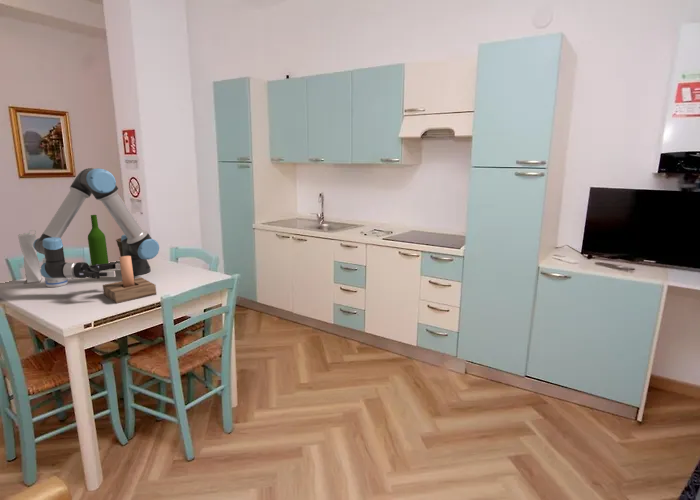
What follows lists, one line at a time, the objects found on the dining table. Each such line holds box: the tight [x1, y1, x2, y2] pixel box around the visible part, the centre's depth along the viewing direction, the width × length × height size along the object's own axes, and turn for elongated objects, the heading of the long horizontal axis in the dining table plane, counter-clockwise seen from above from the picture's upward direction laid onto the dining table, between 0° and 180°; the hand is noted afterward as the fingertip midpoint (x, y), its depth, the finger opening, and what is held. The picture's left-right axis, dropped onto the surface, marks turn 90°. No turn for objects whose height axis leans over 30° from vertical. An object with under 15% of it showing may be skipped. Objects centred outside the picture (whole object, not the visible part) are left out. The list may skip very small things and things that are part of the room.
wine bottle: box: [87, 214, 110, 266], centre depth 246 cm, size 9×9×32 cm
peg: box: [118, 256, 135, 288], centre depth 200 cm, size 5×5×18 cm
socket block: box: [102, 277, 157, 304], centre depth 202 cm, size 18×18×5 cm
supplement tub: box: [42, 257, 69, 288], centre depth 216 cm, size 10×10×15 cm
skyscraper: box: [17, 229, 43, 285], centre depth 220 cm, size 8×8×28 cm
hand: (122, 270), depth 200 cm, fingers open, 13 cm apart
